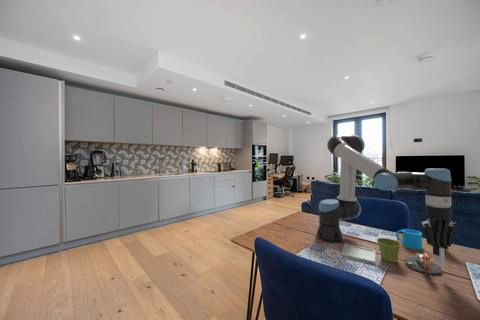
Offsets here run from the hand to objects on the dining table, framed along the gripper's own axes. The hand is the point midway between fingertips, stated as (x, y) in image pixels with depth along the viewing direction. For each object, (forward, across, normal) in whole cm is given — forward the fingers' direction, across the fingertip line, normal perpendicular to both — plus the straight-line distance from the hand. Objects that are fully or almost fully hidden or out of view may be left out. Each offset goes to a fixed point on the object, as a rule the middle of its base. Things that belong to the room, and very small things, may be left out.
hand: (439, 262), depth 79 cm
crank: (+4, -2, +4) cm, 6 cm away
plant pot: (+6, -10, +14) cm, 18 cm away
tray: (+6, -22, +19) cm, 30 cm away
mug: (+6, +12, +30) cm, 33 cm away
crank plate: (+6, 0, +7) cm, 9 cm away
